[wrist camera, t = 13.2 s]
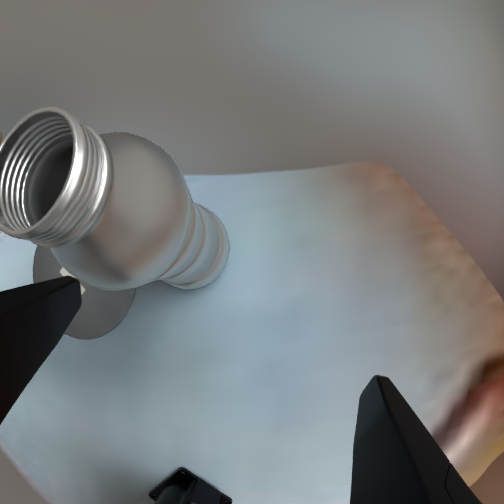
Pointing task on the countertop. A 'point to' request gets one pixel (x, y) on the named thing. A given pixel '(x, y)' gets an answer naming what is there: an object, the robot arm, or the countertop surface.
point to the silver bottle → (106, 205)
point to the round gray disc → (85, 299)
